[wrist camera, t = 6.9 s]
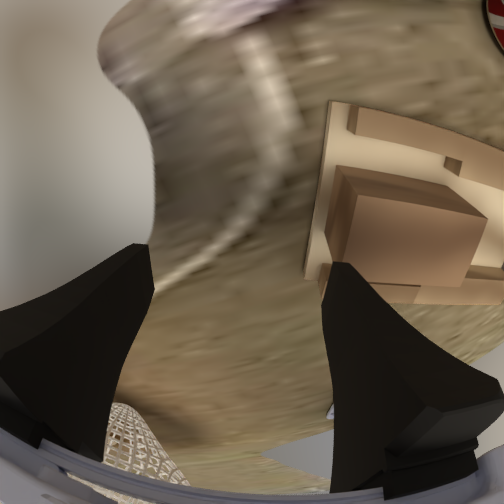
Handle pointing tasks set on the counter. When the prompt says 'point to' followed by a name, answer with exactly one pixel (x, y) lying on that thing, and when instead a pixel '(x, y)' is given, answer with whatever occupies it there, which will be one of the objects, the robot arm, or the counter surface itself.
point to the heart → (135, 447)
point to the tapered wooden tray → (424, 168)
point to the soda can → (496, 19)
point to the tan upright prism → (401, 228)
